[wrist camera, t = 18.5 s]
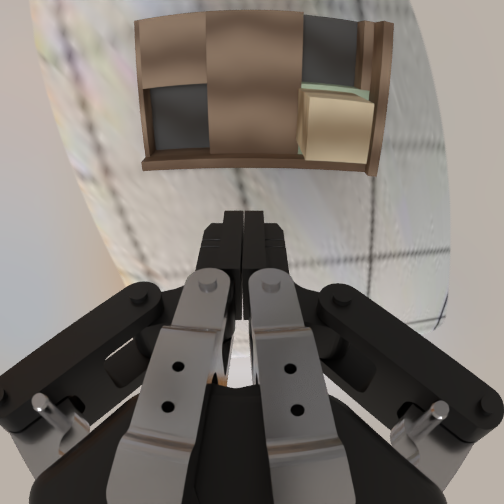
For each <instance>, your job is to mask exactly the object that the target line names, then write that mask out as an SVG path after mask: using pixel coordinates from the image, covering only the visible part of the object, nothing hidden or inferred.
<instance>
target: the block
mask: <svg viewBox="0 0 504 504" xmlns="http://www.w3.org/2000/svg"><path fill="white" fill-rule="evenodd" d="M373 113H374V103H372V102H370V101H368V100H366V99H364V98H362V97H360V96H358V95H356V94H354V93H348V92H340V91H330V90H319V89H305V88H299V94H298V115H297V133H296V141H297V143H298V145H299V147H300V149H301V152H302V154H303V156H304V158H305V160H312V161H332V162H348V163H362V164H366V163H367V157H368V150H369V143H370V136H371V129H372V121H373Z"/></svg>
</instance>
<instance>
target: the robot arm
mask: <svg viewBox="0 0 504 504" xmlns="http://www.w3.org/2000/svg"><path fill="white" fill-rule="evenodd" d="M242 295H243V317H244V320H249V346H250V358H251V370H252V381H253V385H251V386H246V387H242V388H230V387H227V380H228V372H229V366H230V359H231V353H232V346H233V339H234V335H233V333H234V331H235V320H242ZM131 338H133V340H132V341H130V342H129V343H128V344H127V345H125V346H124V347H122V348H121V349H120V350H118V351H117V352H116V353H114V354H113V355H112V356H110V357H109V358H108V359H107V360H105V359H106V358H107V357H108V356H109V355H110V354H111V353H112V352H114V351H115V350H117V349H118V348H119V347H121V346H122V345H123V344H124V343H126V342H127V341H128V340H130V339H131ZM323 373H324V374H325V375H326V376H327V377H328V378H330V379H331V380H332V381H333V382H334V383H335V384H336V385H338V386H339V387H340V388H341V389H342V390H343V391H345V392H346V393H347V394H348V395H349V396H350V397H352V398H353V399H354V400H355V401H356V402H358V403H359V404H360V405H361V406H362V407H363V408H365V409H366V410H367V411H368V412H369V413H370V414H372V415H373V416H374V417H375V418H376V419H378V420H379V421H380V422H381V423H382V424H384V425H385V426H386V427H387V428H389V429H390V430H391V433H390V441H391V444H392V446H391V445H390V444H389V443H388V442H387V441H386V440H384V439H383V438H382V437H381V436H380V435H379V434H378V433H376V431H374V430H373V429H372V428H371V427H370V426H369V425H368V424H367V423H365V421H363V420H362V419H361V418H360V417H359V416H358V415H357V414H356V413H354V411H353V410H351V409H350V408H349V407H348V406H347V405H346V404H344V403H343V402H342V401H340V400H338V399H337V398H335V397H333V396H331V395H329V394H328V392H327V388H326V384H325V380H324V376H323ZM140 385H142V387H141V391H140V393H139V394H137V395H135V396H134V397H132V398H131V399H129V400H128V401H126V402H125V403H124V404H123V405H122V406H121V407H119V408H118V409H117V410H116V411H115V412H114V413H113V414H111V415H110V416H109V417H108V418H107V419H106V420H104V421H103V422H102V423H101V424H100V425H99V426H97V427H96V428H95V429H94V430H93V431H92V432H90V426H91V425H92V424H93V423H95V422H96V421H97V420H98V419H100V418H101V417H102V416H104V415H105V414H106V413H107V412H109V411H110V410H111V409H112V408H114V407H115V406H116V405H117V404H119V403H120V402H121V401H122V400H124V399H125V398H126V397H127V396H129V395H130V394H131V393H132V392H133V391H135V390H136V389H137V388H138V387H140ZM503 415H504V405H503V401H502V399H501V397H500V395H499V394H498V393H497V392H496V391H495V390H494V389H493V388H491V387H490V386H489V385H487V384H486V383H485V382H483V381H482V380H481V379H479V378H478V377H477V376H475V375H474V374H473V373H471V372H470V371H469V370H467V369H466V368H465V367H463V366H462V365H461V364H459V363H458V362H457V361H455V360H454V359H453V358H451V357H450V356H449V355H447V354H446V353H445V352H443V351H442V350H440V349H439V348H438V347H436V346H435V345H434V344H432V343H431V342H430V341H428V340H427V339H425V338H424V337H423V336H421V335H420V334H418V333H417V332H416V331H414V330H413V329H412V328H410V327H409V326H407V325H406V324H405V323H403V322H402V321H400V320H399V319H398V318H396V317H395V316H393V315H392V314H391V313H389V312H388V311H386V310H385V309H383V308H382V307H381V306H379V305H378V304H376V303H375V302H374V301H372V300H371V299H369V298H368V297H366V296H365V295H364V294H362V293H361V292H359V291H358V290H356V289H355V288H353V287H351V286H349V285H346V284H339V283H336V284H330V285H327V286H326V287H324V288H323V289H322V290H321V291H320V292H316V291H311V290H308V289H305V288H302V287H300V286H298V285H297V284H296V283H295V282H294V281H293V279H292V277H291V276H290V275H289V269H288V261H287V254H286V248H285V241H284V233H283V230H282V229H281V228H280V226H279V225H278V224H277V223H264V214H263V211H245V219H244V215H243V211H225V212H224V219H223V223H211V224H210V225H209V226H208V227H207V228H206V229H205V230H204V234H203V239H202V243H201V248H200V252H199V256H198V261H197V265H196V270H195V272H193V273H192V274H191V275H189V277H188V278H187V280H186V282H185V285H184V286H182V287H179V288H177V289H173V290H168V291H164V292H161V291H160V289H159V287H158V286H157V285H155V284H153V283H151V282H137V283H133V284H131V285H129V286H127V287H126V288H124V289H123V290H121V291H120V292H118V293H117V294H115V295H114V296H112V297H111V298H109V299H108V300H106V301H105V302H104V303H102V304H101V305H99V306H98V307H96V308H95V309H93V310H92V311H90V312H89V313H87V314H86V315H84V316H83V317H82V318H80V319H79V320H78V321H76V322H74V323H73V324H71V325H70V326H69V327H67V328H66V329H64V330H63V331H61V332H60V333H59V334H57V335H56V336H54V337H53V338H52V339H50V340H49V341H47V342H46V343H45V344H43V345H42V346H40V347H39V348H38V349H36V350H35V351H33V352H32V353H31V354H29V355H28V356H27V357H25V358H24V359H22V360H21V361H20V362H19V363H17V364H16V365H14V366H13V367H12V368H10V369H9V370H8V371H6V372H5V373H4V374H2V375H1V376H0V425H1V426H2V427H3V428H4V429H5V430H6V431H7V432H8V433H10V435H11V436H12V439H13V441H14V443H15V444H16V446H17V448H18V450H19V452H20V454H21V456H22V458H23V459H24V461H25V463H26V465H27V466H28V468H29V470H30V472H31V473H32V475H33V476H34V478H35V482H34V484H33V486H32V488H31V491H30V497H29V504H447V502H446V498H445V497H444V494H443V491H444V490H445V488H446V487H447V485H448V484H449V482H450V481H451V479H452V478H453V477H454V475H455V474H456V472H457V471H458V469H459V467H460V466H461V464H462V463H463V461H464V460H465V458H466V456H467V454H468V453H469V451H470V450H471V448H472V446H473V445H474V443H476V442H477V441H478V440H480V439H481V438H482V437H484V436H485V435H486V434H488V433H489V432H490V431H492V430H493V429H494V428H495V427H497V426H498V425H499V424H500V422H501V421H502V419H503Z"/></svg>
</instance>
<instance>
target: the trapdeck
mask: <svg viewBox="0 0 504 504" xmlns="http://www.w3.org/2000/svg"><path fill="white" fill-rule="evenodd" d="M134 26H135V50H136V67H137V81H138V93H139V104H140V114H141V123H142V132H143V140H144V148H145V156H146V157H145V159H144V160H143V161H142V162H141V163H142V170H143V171H151V170H169V169H194V168H298V169H323V170H342V171H357V172H365V173H366V174H367V176H376V177H377V171H378V165H379V159H380V153H381V147H382V141H383V134H384V127H385V119H386V112H387V103H388V95H389V85H390V75H391V63H392V49H393V30H394V23H390V22H386V21H381V22H370V21H360V22H355V21H349V20H342V19H335V18H328V17H319V16H310V15H303V12H295V11H278V10H224V11H206V12H194V13H184V14H175V15H168V16H161V17H154V18H148V19H142V20H137V21H134ZM299 88H305V89H319V90H330V91H340V92H348V93H354V94H356V95H358V96H360V97H362V98H364V99H366V100H368V101H370V102H372V103H374V113H373V121H372V129H371V136H370V143H369V150H368V157H367V163H366V164H362V163H348V162H332V161H312V160H305V158H304V156H303V154H302V152H301V149H300V147H299V145H298V143H297V141H296V133H297V115H298V94H299Z"/></svg>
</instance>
